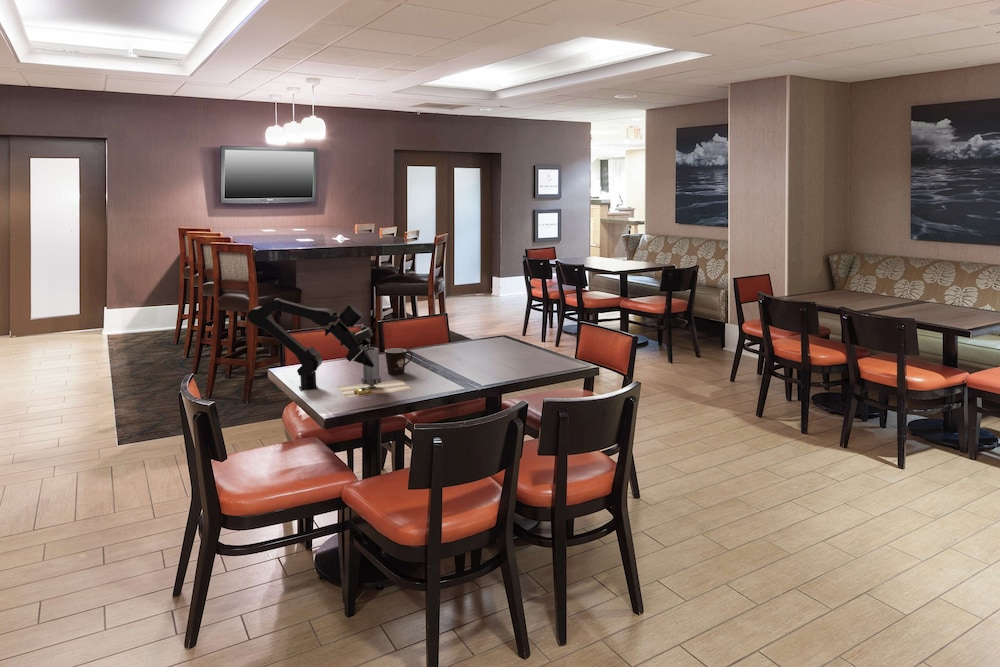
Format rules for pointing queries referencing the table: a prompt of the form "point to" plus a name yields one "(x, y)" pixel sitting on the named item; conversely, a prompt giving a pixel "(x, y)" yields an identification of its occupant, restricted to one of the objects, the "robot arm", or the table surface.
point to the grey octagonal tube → (371, 368)
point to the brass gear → (363, 391)
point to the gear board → (380, 388)
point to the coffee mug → (396, 360)
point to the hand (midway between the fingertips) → (374, 364)
